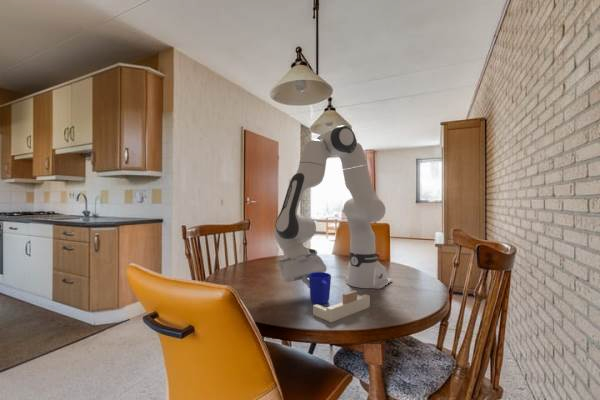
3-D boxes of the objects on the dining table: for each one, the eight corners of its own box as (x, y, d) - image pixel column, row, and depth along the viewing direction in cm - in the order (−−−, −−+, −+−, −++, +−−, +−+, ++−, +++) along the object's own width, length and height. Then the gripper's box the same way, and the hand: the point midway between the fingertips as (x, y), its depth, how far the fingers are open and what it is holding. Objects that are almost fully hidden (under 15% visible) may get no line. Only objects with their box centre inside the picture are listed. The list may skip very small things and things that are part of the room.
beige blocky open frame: (351, 300, 110) (352, 282, 109) (369, 307, 103) (369, 287, 103) (313, 314, 96) (313, 293, 96) (330, 322, 90) (330, 299, 90)
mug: (313, 310, 100) (314, 281, 100) (306, 298, 112) (306, 272, 112) (336, 309, 101) (337, 280, 101) (327, 297, 113) (327, 271, 113)
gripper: (279, 255, 110) (296, 287, 102) (318, 249, 123) (335, 277, 116) (272, 265, 113) (288, 296, 106) (311, 258, 126) (327, 286, 119)
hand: (313, 286), depth 111 cm, fingers closed
